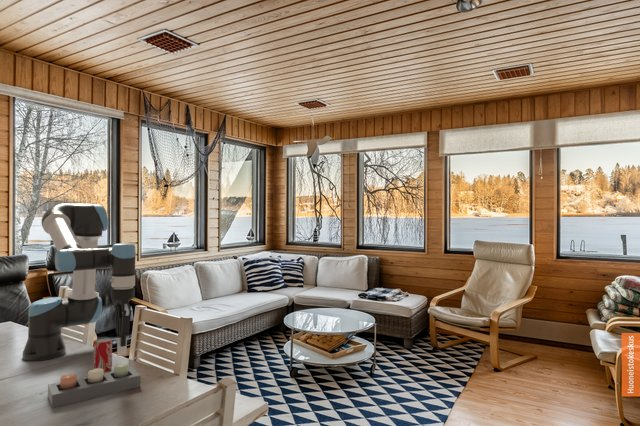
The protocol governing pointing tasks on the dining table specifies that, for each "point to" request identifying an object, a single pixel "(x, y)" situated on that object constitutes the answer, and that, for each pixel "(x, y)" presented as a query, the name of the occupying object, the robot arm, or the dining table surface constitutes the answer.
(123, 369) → the button sage
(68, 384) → the button rust
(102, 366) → the beverage can
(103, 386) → the grey slotted tray
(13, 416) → the dining table surface
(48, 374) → the dining table surface
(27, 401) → the dining table surface
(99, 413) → the dining table surface
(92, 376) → the button cream
